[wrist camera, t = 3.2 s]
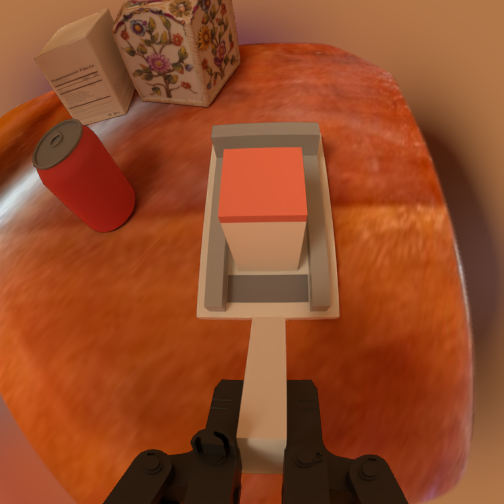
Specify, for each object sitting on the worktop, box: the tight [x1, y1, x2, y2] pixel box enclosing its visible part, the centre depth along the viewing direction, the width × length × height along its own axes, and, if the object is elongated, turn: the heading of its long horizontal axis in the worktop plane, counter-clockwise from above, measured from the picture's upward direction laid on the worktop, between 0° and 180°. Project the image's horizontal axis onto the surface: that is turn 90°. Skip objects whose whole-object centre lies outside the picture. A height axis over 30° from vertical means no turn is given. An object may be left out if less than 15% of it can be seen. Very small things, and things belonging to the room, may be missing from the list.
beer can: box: [32, 119, 135, 232], centre depth 26 cm, size 7×7×12 cm
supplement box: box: [34, 9, 135, 125], centre depth 33 cm, size 9×9×15 cm
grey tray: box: [196, 122, 340, 320], centre depth 27 cm, size 20×12×6 cm, turn 179°
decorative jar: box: [112, 0, 240, 107], centre depth 31 cm, size 12×12×18 cm
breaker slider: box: [218, 147, 307, 271], centre depth 22 cm, size 5×5×10 cm
